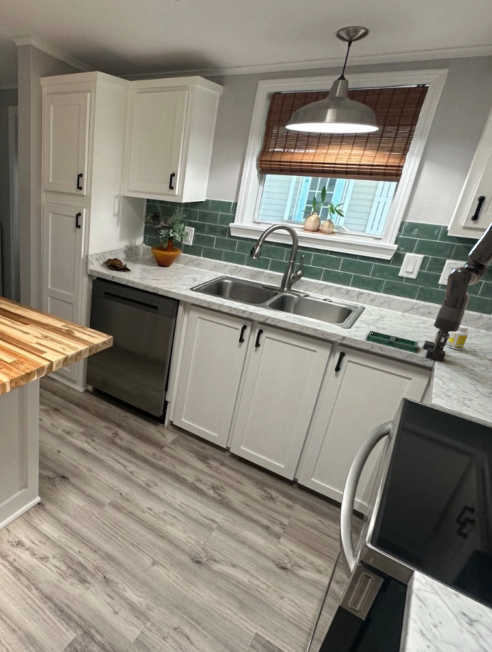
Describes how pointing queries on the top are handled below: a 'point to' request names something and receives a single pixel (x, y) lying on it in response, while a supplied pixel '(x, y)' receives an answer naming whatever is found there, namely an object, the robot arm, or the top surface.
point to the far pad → (428, 345)
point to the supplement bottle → (458, 338)
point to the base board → (392, 341)
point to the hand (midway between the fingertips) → (434, 356)
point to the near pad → (430, 352)
